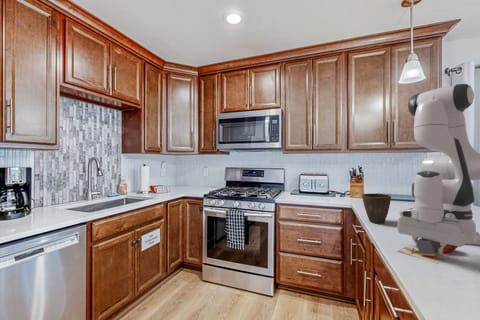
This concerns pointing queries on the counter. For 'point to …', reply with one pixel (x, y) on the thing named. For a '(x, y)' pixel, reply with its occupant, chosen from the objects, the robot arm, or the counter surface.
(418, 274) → the counter surface
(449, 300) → the counter surface
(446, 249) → the dragon fruit
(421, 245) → the block
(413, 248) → the pine board
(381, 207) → the plant pot
